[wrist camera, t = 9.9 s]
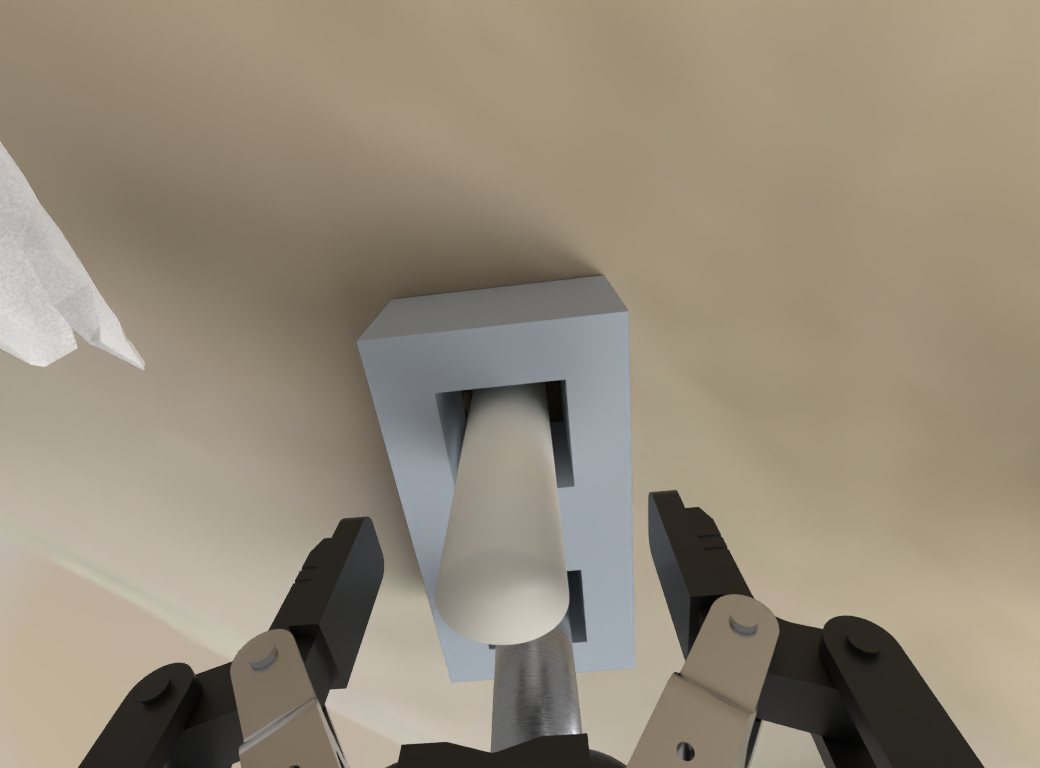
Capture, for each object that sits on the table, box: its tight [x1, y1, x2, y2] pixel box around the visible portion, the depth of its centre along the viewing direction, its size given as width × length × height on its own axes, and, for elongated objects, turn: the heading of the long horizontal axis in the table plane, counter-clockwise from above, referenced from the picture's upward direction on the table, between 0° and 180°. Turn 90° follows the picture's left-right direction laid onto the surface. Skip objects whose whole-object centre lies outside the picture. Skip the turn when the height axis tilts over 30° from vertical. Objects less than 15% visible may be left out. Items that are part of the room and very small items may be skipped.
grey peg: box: [491, 608, 582, 753], centre depth 21 cm, size 3×3×12 cm
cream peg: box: [435, 382, 569, 645], centre depth 17 cm, size 3×3×12 cm
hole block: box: [356, 275, 635, 683], centre depth 22 cm, size 9×18×5 cm, turn 7°
